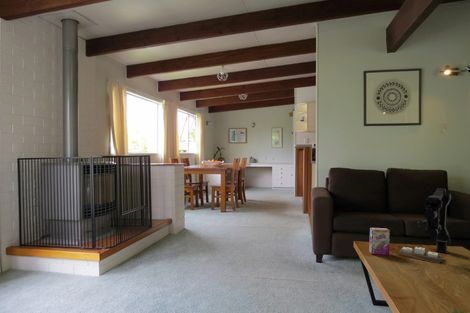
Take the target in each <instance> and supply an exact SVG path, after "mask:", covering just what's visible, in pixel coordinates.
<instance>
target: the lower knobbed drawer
mask: <svg viewBox="0 0 470 313" xmlns="http://www.w3.org/2000/svg"><path fill="white" fill-rule="evenodd" d="M438 255H439V253H438V252H435V251H434V252H433V251H427V256H429V257H434V258H438Z"/></svg>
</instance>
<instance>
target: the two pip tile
mask: <svg viewBox="0 0 470 313" xmlns="http://www.w3.org/2000/svg"><path fill="white" fill-rule="evenodd" d="M413 250H414V253H416V254H421V255H424V254H425V252H426V248H425V247H420V246H415V247H414V249H413Z"/></svg>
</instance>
